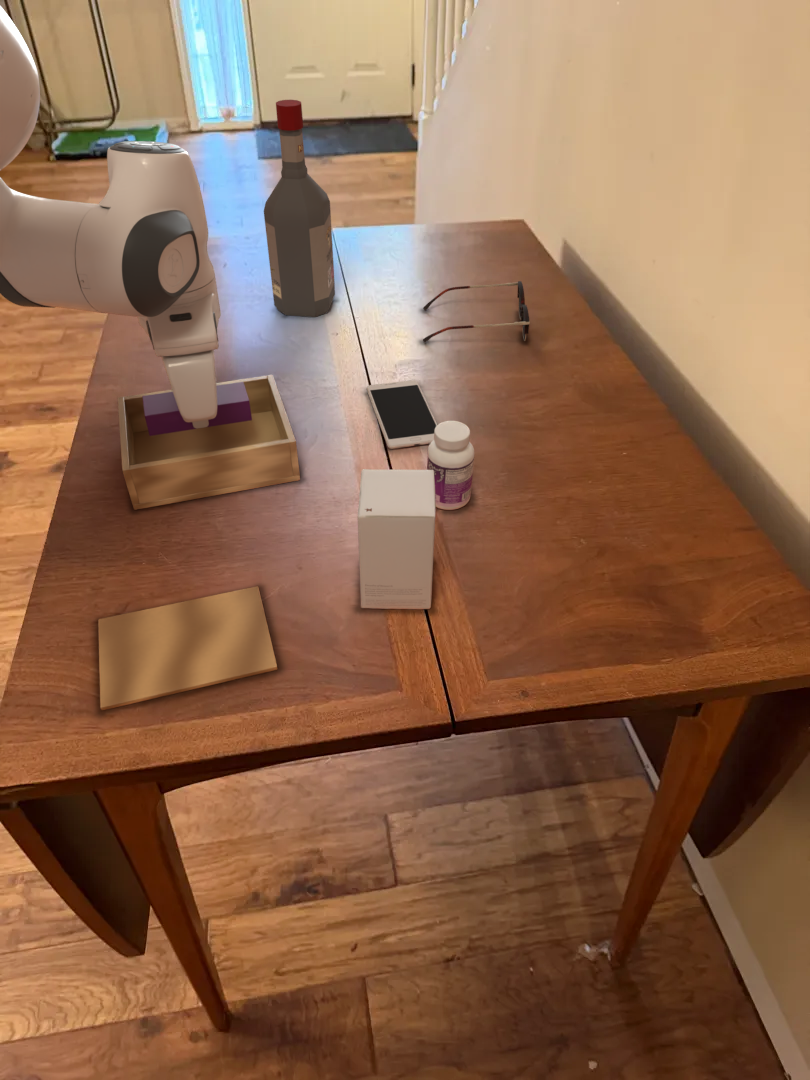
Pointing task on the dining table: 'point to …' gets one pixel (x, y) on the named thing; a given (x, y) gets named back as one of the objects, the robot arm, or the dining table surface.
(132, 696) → the wooden board
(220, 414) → the purple rectangular block
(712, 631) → the dining table surface
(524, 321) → the sunglasses
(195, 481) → the open wooden box
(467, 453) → the pill bottle
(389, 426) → the smartphone
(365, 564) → the white packaging box
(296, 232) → the liquor
